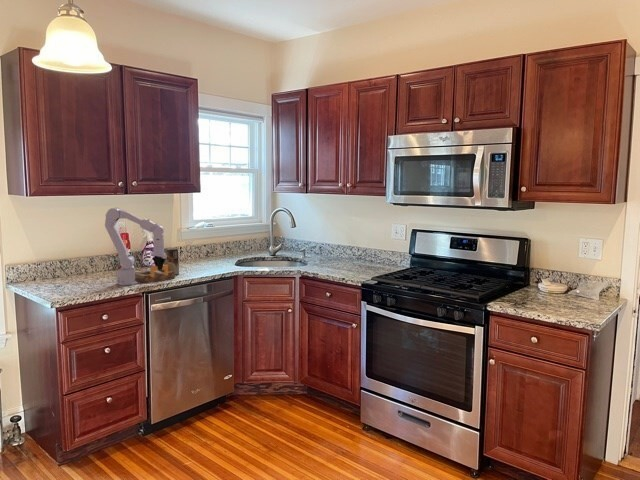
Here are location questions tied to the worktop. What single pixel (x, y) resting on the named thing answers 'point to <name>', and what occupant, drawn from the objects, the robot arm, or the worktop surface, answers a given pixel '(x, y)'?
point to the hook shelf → (158, 276)
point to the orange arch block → (155, 268)
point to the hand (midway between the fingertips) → (159, 269)
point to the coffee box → (172, 260)
